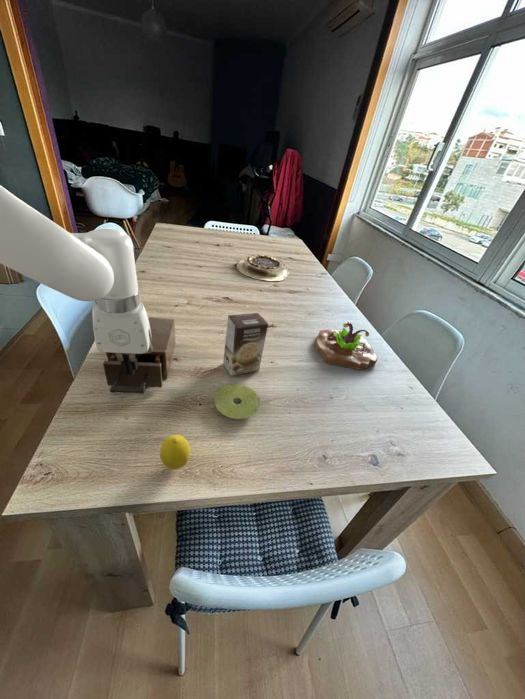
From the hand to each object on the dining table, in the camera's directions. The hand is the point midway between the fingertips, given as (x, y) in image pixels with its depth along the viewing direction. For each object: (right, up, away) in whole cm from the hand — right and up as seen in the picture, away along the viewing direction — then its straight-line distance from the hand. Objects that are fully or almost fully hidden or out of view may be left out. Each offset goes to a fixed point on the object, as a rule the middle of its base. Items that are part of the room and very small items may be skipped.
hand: (130, 370), depth 67 cm
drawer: (-2, -2, +9) cm, 9 cm away
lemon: (+13, -18, -8) cm, 24 cm away
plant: (+58, +4, +33) cm, 66 cm away
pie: (+31, +45, +82) cm, 99 cm away
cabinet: (-3, +2, +15) cm, 16 cm away
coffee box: (+24, 0, +19) cm, 30 cm away
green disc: (+24, -9, +6) cm, 26 cm away
